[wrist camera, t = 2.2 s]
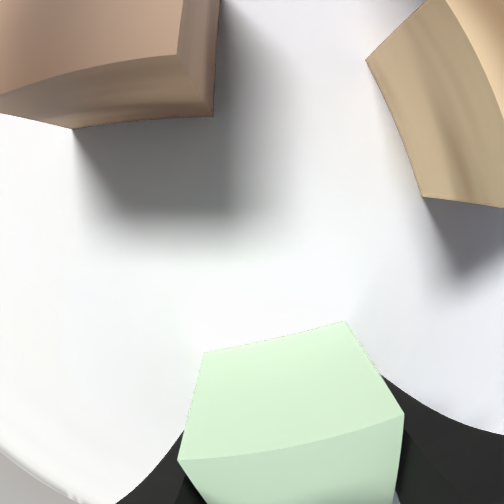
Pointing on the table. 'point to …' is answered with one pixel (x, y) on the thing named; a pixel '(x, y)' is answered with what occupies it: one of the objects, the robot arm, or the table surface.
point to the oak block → (449, 97)
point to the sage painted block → (293, 423)
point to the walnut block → (107, 60)
